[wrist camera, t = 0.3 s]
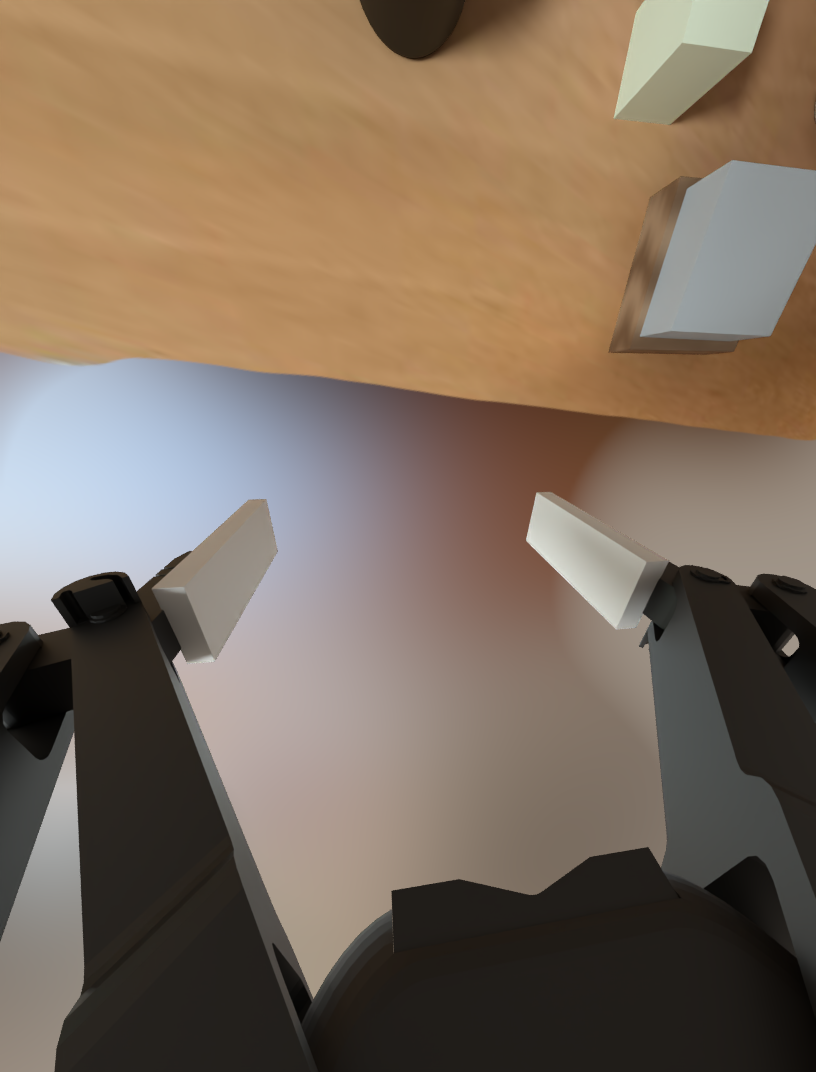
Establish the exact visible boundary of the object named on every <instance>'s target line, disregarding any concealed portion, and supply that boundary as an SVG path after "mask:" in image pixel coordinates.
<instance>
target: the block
mask: <svg viewBox="0 0 816 1072" xmlns="http://www.w3.org/2000/svg"><path fill="white" fill-rule="evenodd" d="M768 2H769V0H645V1H644V2H643V3H642V5H641V6H640V8H639V9H638V11H637V12H636V16H635V20H634V25H633V30H632V34H631V39H630V44H629V49H628V53H627V58H626V63H625V68H624V72H623V77H622V82H621V87H620V91H619V96H618V101H617V105H616V110H615V115H614V119H621V120H630V121H639V122H648V123H657V124H666V125H670V124H671V123H673V122H674V121H675V120H676V119H677V118H678V117H679V116H680V115H682V114H683V113H684V112H685V111H686V110H687V109H688V108H690V107H691V106H692V105H693V104H694V103H695V102H696V101H697V100H699V99H700V98H701V97H702V96H703V95H704V94H705V93H707V92H708V91H709V90H710V89H711V88H712V87H713V86H715V85H716V84H717V83H718V82H719V81H720V80H721V79H722V78H724V77H725V76H726V75H727V74H728V73H729V72H730V71H732V70H733V69H734V68H735V67H736V66H737V65H738V64H739V63H741V62H742V61H743V60H744V59H745V58H746V57H747V56H749V55H750V54H751V53H752V50H753V47H754V44H755V41H756V38H757V35H758V32H759V29H760V26H761V23H762V20H763V17H764V14H765V11H766V8H767V5H768Z"/></svg>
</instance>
